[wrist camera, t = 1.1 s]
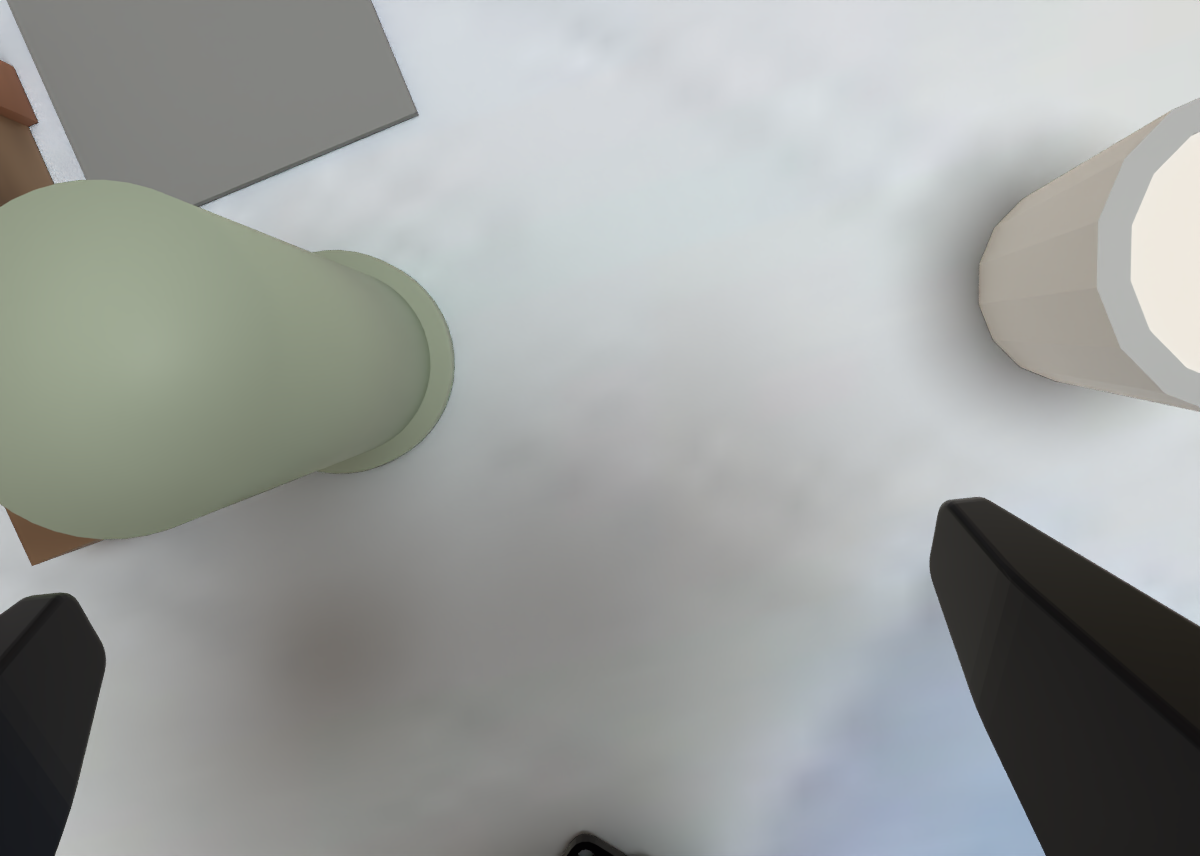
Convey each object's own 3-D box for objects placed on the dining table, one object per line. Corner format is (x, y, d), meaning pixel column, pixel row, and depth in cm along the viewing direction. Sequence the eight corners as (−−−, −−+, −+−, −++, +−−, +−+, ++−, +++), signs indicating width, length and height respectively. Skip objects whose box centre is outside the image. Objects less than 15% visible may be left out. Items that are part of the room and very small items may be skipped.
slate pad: (418, 114, 24) (416, 111, 24) (118, 239, 24) (112, 238, 24) (286, -205, 24) (282, -212, 23) (-21, -74, 24) (-30, -80, 23)
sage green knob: (382, 509, 25) (176, 653, 13) (200, 395, 25) (-195, 427, 12) (495, 330, 25) (400, 297, 12) (312, 212, 24) (23, 55, 12)
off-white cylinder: (932, 381, 25) (1065, 387, 18) (982, 137, 25) (1139, 47, 18) (1167, 423, 25) (1389, 446, 18) (1221, 182, 25) (1470, 110, 18)
